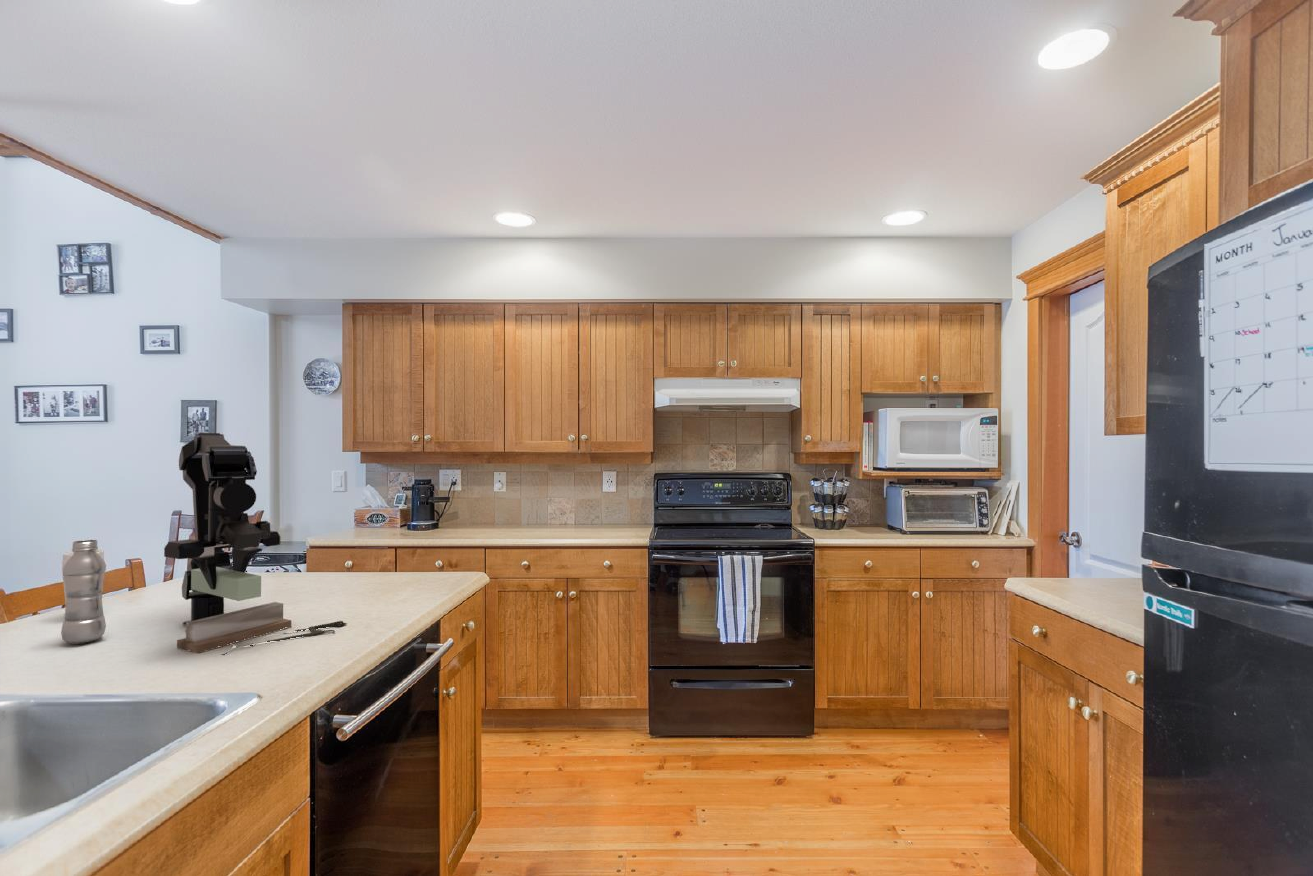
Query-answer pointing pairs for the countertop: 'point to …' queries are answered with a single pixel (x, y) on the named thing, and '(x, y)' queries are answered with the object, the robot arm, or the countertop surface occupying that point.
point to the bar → (228, 584)
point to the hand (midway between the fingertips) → (225, 586)
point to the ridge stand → (233, 627)
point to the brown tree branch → (313, 631)
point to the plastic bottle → (83, 594)
